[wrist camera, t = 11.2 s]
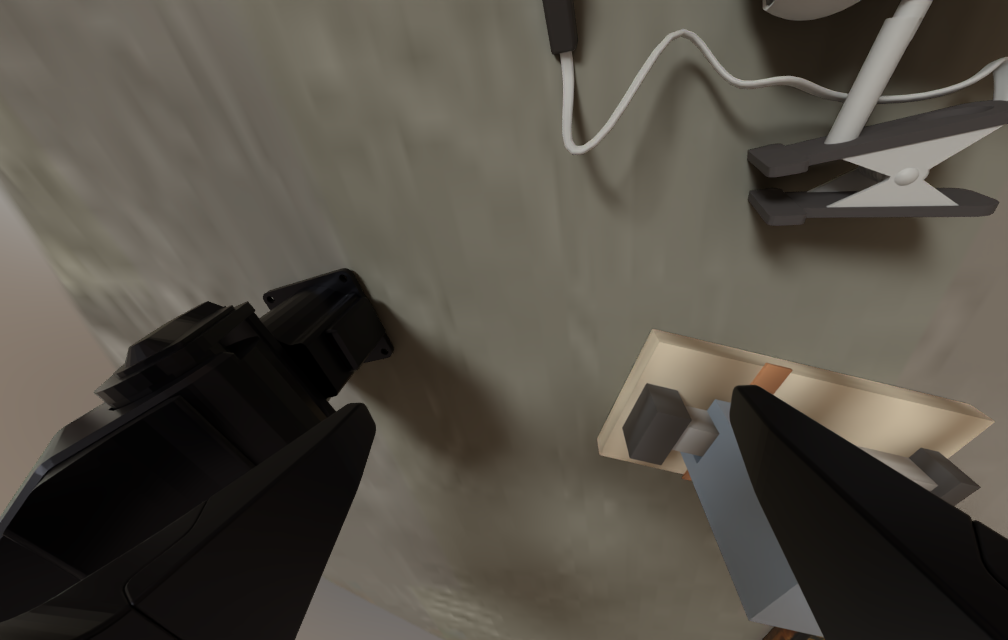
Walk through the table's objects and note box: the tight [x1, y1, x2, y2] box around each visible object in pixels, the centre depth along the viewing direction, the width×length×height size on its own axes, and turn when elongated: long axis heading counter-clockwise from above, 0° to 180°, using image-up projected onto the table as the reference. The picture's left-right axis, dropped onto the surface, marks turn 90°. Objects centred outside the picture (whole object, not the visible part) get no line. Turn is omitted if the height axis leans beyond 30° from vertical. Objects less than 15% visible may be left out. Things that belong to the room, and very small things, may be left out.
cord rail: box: [597, 329, 995, 506], centre depth 23 cm, size 20×11×4 cm, turn 78°
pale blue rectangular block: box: [680, 399, 823, 637], centre depth 19 cm, size 5×5×9 cm
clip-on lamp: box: [542, 0, 1008, 226], centre depth 13 cm, size 12×6×18 cm
